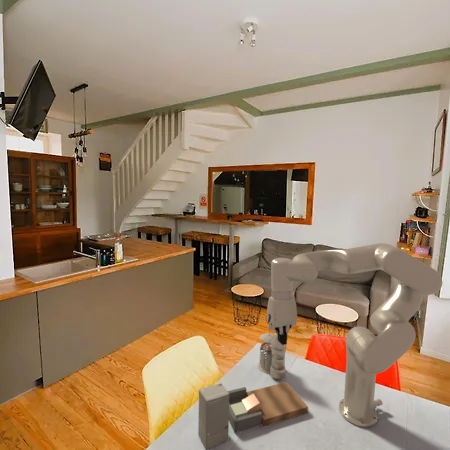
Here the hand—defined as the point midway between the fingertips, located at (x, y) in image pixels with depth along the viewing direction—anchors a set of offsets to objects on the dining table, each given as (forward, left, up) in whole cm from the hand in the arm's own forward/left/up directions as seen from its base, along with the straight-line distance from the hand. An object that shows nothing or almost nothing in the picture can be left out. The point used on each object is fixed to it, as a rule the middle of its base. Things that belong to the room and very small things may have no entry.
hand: (282, 342), depth 101 cm
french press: (-7, -22, -25) cm, 35 cm away
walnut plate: (+1, -1, -25) cm, 25 cm away
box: (+15, -2, -25) cm, 29 cm away
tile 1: (+16, -1, -25) cm, 30 cm away
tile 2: (+11, -1, -23) cm, 25 cm away
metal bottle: (-8, -15, -25) cm, 31 cm away
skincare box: (+27, +4, -25) cm, 37 cm away
